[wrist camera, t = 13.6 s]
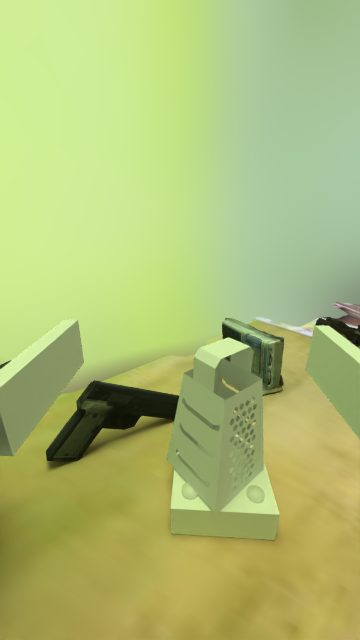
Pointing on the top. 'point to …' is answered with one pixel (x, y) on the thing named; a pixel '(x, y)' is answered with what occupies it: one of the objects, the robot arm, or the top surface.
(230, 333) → the radio
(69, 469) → the top surface
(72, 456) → the handgun
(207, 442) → the grater
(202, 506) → the pedestal
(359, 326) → the toy
